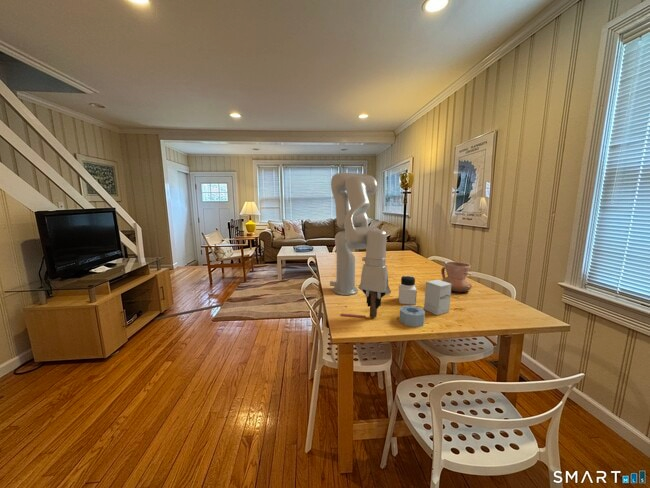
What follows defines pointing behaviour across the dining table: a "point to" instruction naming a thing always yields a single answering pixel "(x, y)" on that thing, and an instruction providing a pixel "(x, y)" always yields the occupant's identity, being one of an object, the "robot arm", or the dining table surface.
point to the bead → (412, 316)
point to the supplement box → (437, 297)
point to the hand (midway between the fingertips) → (373, 305)
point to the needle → (373, 304)
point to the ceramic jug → (457, 276)
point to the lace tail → (353, 315)
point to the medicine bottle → (407, 290)
